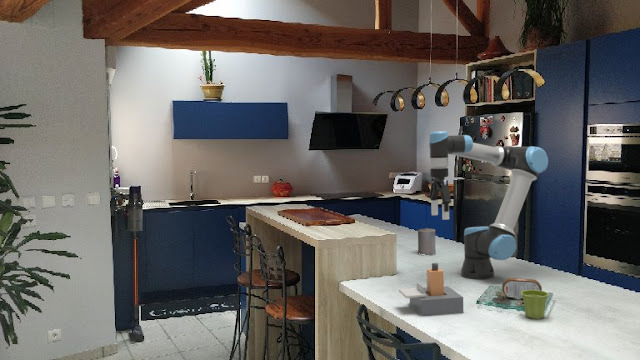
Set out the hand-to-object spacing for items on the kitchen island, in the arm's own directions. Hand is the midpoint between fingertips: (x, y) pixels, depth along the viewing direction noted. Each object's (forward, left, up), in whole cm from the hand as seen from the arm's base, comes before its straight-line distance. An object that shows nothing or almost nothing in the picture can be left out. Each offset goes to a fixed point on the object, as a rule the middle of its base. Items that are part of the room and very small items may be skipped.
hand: (440, 217), depth 241 cm
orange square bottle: (+11, +24, -30) cm, 40 cm away
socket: (+11, +24, -32) cm, 41 cm away
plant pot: (-20, +42, -32) cm, 56 cm away
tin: (-26, +21, -32) cm, 46 cm away
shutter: (+20, +24, -25) cm, 40 cm away
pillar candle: (-18, -73, -32) cm, 82 cm away
